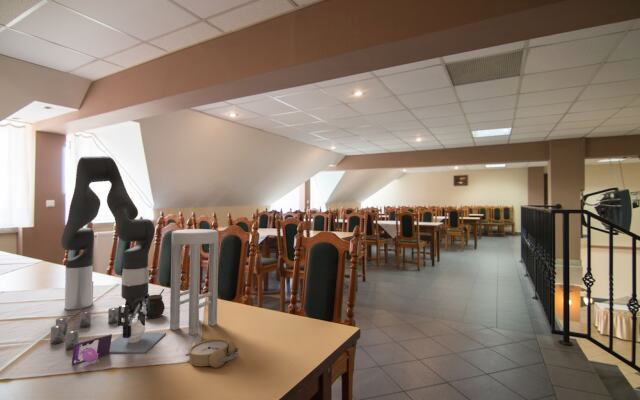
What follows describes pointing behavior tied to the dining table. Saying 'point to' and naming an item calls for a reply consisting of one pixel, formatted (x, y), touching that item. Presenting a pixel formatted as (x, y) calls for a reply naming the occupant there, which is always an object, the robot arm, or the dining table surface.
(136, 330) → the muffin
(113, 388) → the dining table surface
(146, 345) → the rubber mat
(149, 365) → the dining table surface
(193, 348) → the alarm clock
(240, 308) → the dining table surface
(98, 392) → the dining table surface
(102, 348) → the game card
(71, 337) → the posts
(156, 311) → the mate gourd
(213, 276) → the stool
